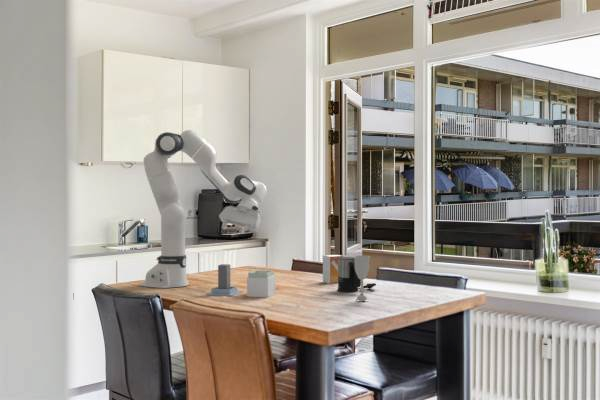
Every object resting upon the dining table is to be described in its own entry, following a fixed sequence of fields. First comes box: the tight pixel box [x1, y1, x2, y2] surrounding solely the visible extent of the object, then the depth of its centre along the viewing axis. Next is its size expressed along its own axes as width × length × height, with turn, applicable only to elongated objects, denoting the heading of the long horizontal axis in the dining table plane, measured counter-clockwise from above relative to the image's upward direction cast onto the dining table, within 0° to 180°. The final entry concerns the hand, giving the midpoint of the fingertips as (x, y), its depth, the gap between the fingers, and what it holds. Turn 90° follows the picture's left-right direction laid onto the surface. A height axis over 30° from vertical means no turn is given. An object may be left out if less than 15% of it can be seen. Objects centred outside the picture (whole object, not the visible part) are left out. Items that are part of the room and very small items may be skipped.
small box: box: [322, 254, 344, 284], centre depth 305 cm, size 8×6×13 cm
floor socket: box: [205, 285, 243, 297], centre depth 274 cm, size 12×12×2 cm
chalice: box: [353, 255, 371, 301], centre depth 254 cm, size 7×7×18 cm
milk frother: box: [337, 256, 377, 293], centre depth 281 cm, size 14×16×15 cm
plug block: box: [217, 263, 231, 289], centre depth 274 cm, size 4×4×12 cm
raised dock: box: [246, 269, 276, 298], centre depth 269 cm, size 10×10×10 cm
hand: (232, 230), depth 291 cm, fingers open, 8 cm apart
